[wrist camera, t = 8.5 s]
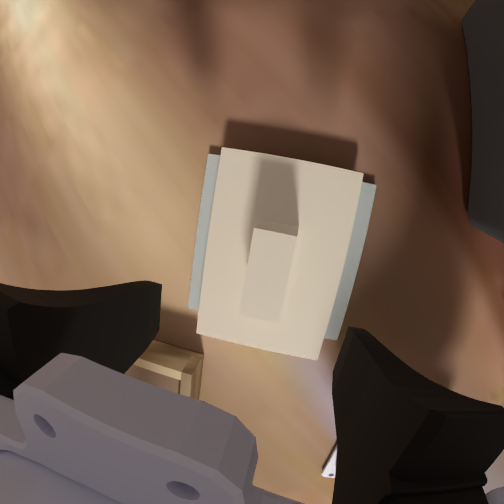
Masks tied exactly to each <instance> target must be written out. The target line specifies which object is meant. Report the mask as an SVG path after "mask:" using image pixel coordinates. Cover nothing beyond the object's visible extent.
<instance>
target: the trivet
mask: <svg viewBox="0 0 504 504" xmlns="http://www.w3.org/2000/svg"><path fill="white" fill-rule="evenodd" d="M219 161H220V155H215V154H208V159H207V165H206V171H205V178H204V184H203V191H202V198H201V205H200V212H199V219H198V226H197V234H196V242H195V250H194V258H193V266H192V275H191V284H190V293H189V303H188V308H190V309H194V310H198V311H199V304H200V295H201V287H202V279H203V271H204V263H205V255H206V248H207V241H208V233H209V226H210V219H211V212H212V206H213V199H214V193H215V186H216V180H217V173H218V167H219ZM376 186H377V185H374V184H369V183H365V182H362V185H361V190H360V196H359V201H358V206H357V210H356V215H355V220H354V224H353V229H352V234H351V238H350V242H349V247H348V251H347V255H346V259H345V263H344V267H343V271H342V275H341V279H340V283H339V287H338V291H337V294H336V298H335V302H334V305H333V309H332V312H331V316H330V319H329V323H328V326H327V330H326V333H325V336H324V338H325V339H331V340H336V341H337V339H338V336H339V333H340V330H341V326H342V323H343V320H344V316H345V313H346V310H347V306H348V303H349V299H350V296H351V292H352V289H353V285H354V281H355V278H356V274H357V270H358V266H359V262H360V258H361V254H362V250H363V246H364V242H365V238H366V233H367V229H368V224H369V220H370V215H371V211H372V206H373V201H374V196H375V191H376Z"/></svg>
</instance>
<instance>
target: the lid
mask: <svg viewBox="0 0 504 504" xmlns="http://www.w3.org/2000/svg"><path fill="white" fill-rule="evenodd" d="M363 175H364V173H360V172H355V171H351V170H347V169H342V168H338V167H333V166H328V165H324V164H319V163H314V162H309V161H304V160H298V159H293V158H288V157H282V156H276V155H270V154H264V153H258V152H252V151H245V150H238V149H231V148H224V147H222V149H221V155H220V161H219V167H218V173H217V180H216V186H215V193H214V199H213V206H212V212H211V219H210V226H209V233H208V241H207V248H206V255H205V263H204V271H203V279H202V287H201V295H200V304H199V313H198V322H197V331H196V333H197V334H201V335H205V336H209V337H213V338H217V339H221V340H225V341H229V342H233V343H237V344H241V345H245V346H250V347H254V348H259V349H263V350H268V351H272V352H277V353H282V354H287V355H292V356H297V357H302V358H307V359H313V360H317V359H318V356H319V353H320V349H321V346H322V343H323V340H324V336H325V333H326V330H327V326H328V323H329V319H330V316H331V312H332V309H333V305H334V302H335V298H336V294H337V291H338V287H339V283H340V279H341V275H342V271H343V267H344V263H345V259H346V255H347V251H348V247H349V242H350V238H351V234H352V229H353V224H354V220H355V215H356V210H357V206H358V201H359V196H360V190H361V185H362V180H363Z"/></svg>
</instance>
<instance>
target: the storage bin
mask: <svg viewBox="0 0 504 504" xmlns="http://www.w3.org/2000/svg"><path fill="white" fill-rule="evenodd" d="M462 26H463V31H464V37H465V43H466V50H467V57H468V66H469V75H470V88H471V105H472V166H471V182H470V193H469V202H468V219H469V222H470V223H471V225H472V226H473V227H475V228H477V229H479V230H481V231H483V232H485V233H486V234H488V235H490V236H492V237H494V238H496V239H497V240H499V241H501V242H503V243H504V0H476V1H475V2H474V4H473V5H472V7H471V8H470V9H469V11H468V12H467V14H466V15H465V16H464V18H463V20H462Z"/></svg>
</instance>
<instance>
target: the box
mask: <svg viewBox="0 0 504 504" xmlns="http://www.w3.org/2000/svg"><path fill="white" fill-rule="evenodd" d="M203 358H204V354H200V353H197V352H193V351H190V350H186V349H183V348H179V347H176V346H172V345H169V344H166V343H163V342H159V341H156V340H153V341H152V342H151V344H150V345H149V347H148V348H147V349H146V350H145V352H144V353H143V354H142V355H141V356H140V357H139V358H138V359H137V361H136V362H135V363H134V364H133V365H132V366H131V367H130V368H129V369H128V370H127V372H126V373H125V374H124V375H127V376H130V377H132V378H135V379H138V380H140V381H143V382H146V383H149V384H151V385H154V386H157V387H160V388H163V389H166V390H169V391H172V392H175V393H178V394H181V395H184V396H188V397H191V398H194V399H198V400H199V394H200V385H201V376H202V367H203Z"/></svg>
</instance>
